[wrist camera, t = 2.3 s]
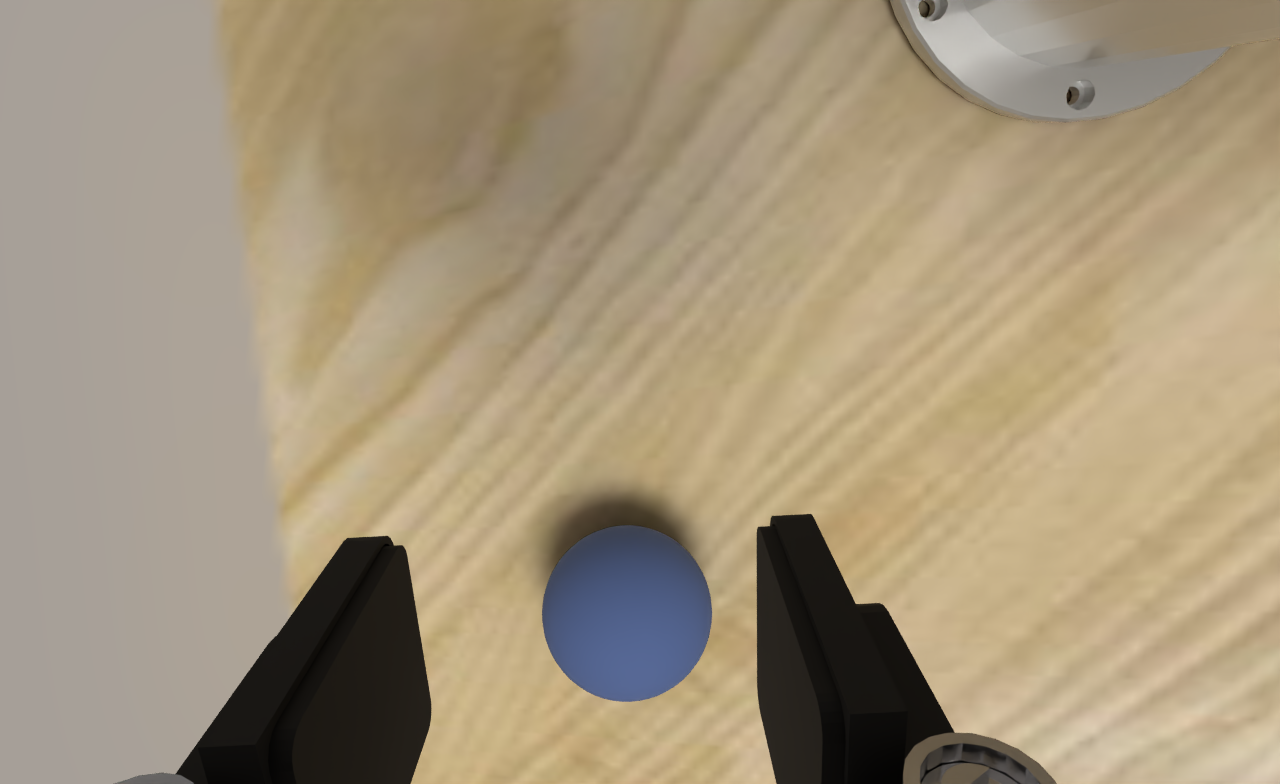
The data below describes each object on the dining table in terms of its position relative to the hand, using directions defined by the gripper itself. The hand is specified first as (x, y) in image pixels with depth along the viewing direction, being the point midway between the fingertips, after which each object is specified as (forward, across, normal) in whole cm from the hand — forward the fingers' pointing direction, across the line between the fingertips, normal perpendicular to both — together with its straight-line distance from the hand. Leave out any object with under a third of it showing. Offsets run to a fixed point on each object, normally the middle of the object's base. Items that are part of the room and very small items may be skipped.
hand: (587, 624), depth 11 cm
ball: (+14, 0, +10) cm, 17 cm away
